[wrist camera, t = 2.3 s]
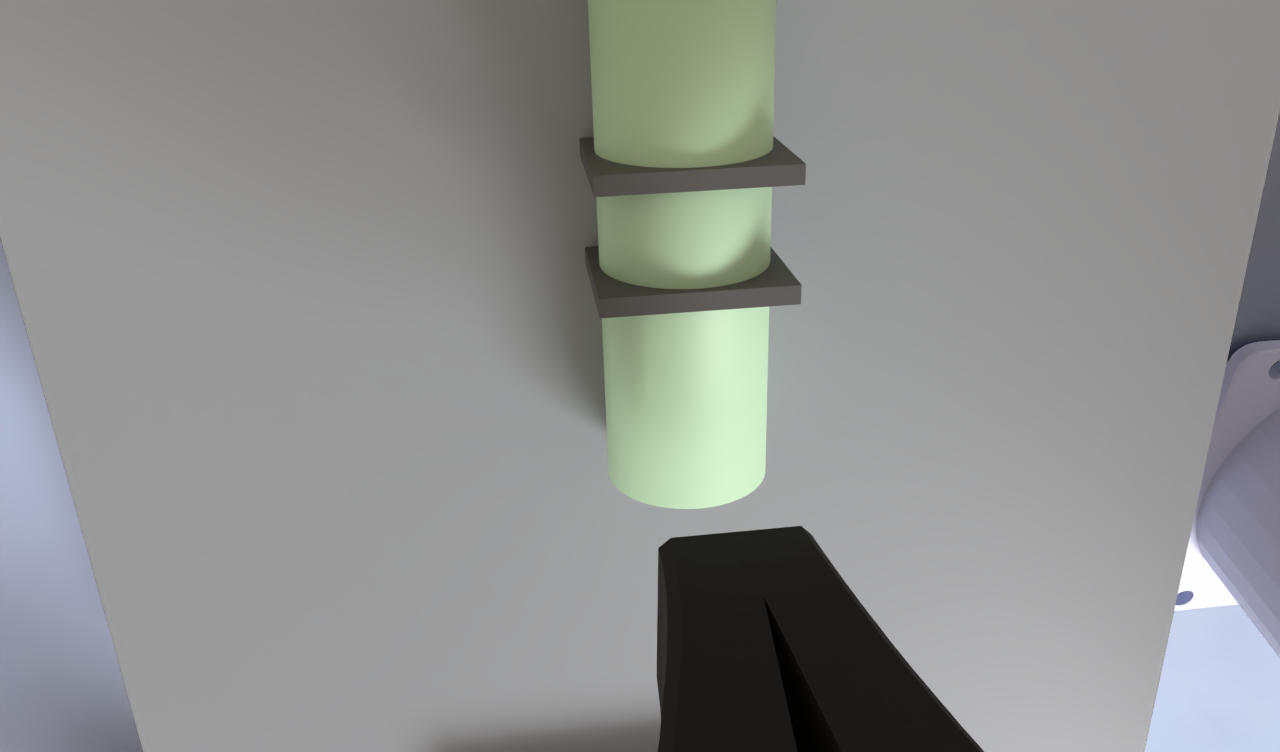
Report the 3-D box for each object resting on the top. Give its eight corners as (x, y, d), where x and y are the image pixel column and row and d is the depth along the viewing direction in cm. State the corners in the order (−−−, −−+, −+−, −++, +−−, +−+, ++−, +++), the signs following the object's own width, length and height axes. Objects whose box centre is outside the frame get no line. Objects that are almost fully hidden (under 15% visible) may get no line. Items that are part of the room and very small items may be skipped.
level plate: (1338, -562, 11) (1611, -708, 8) (1084, 797, 18) (1184, 949, 16) (-160, -585, 9) (-413, -770, 7) (222, 902, 17) (173, 1090, 14)
